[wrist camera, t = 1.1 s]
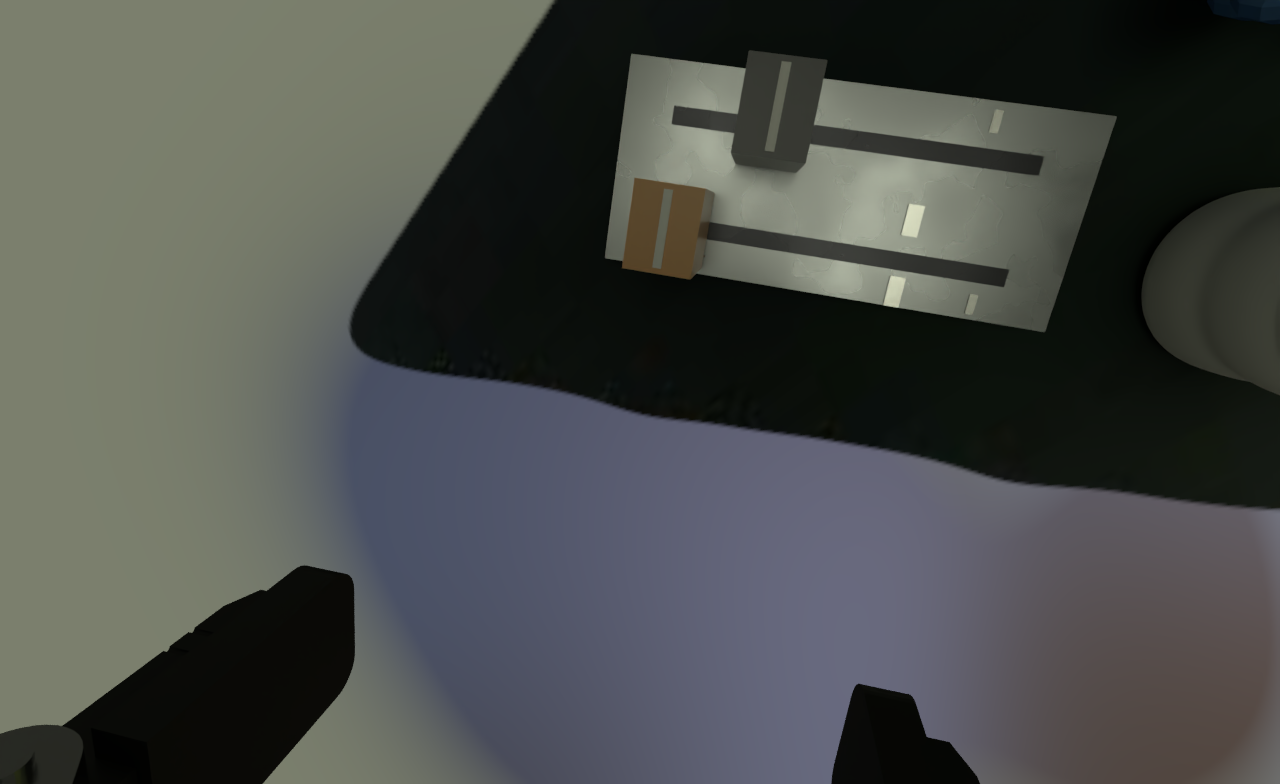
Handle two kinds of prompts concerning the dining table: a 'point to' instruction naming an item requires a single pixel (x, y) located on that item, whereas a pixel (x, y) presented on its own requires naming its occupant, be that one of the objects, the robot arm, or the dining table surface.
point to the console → (874, 192)
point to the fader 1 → (667, 228)
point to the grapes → (1248, 10)
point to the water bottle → (1221, 288)
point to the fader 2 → (777, 111)
